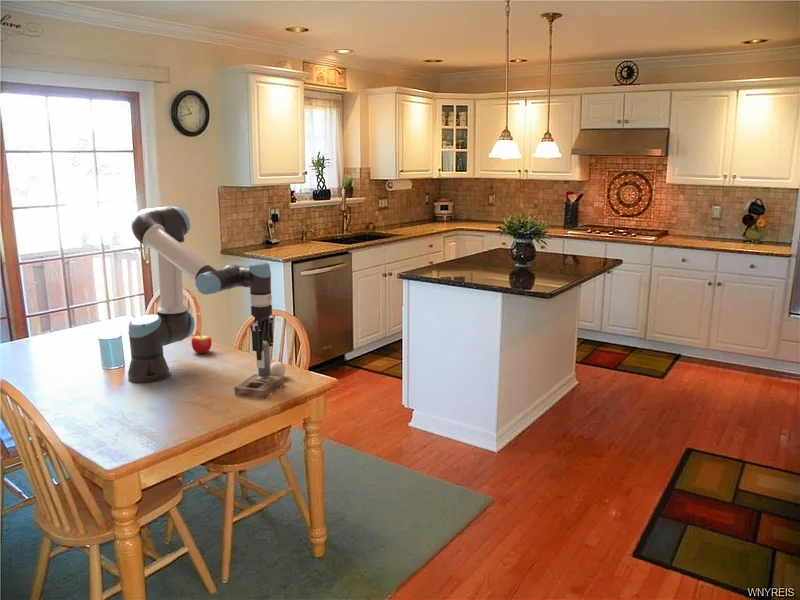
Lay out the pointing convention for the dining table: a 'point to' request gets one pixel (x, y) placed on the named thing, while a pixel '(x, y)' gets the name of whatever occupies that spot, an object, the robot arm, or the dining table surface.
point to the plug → (265, 361)
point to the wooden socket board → (259, 386)
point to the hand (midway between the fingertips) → (264, 365)
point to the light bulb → (277, 369)
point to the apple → (201, 344)
